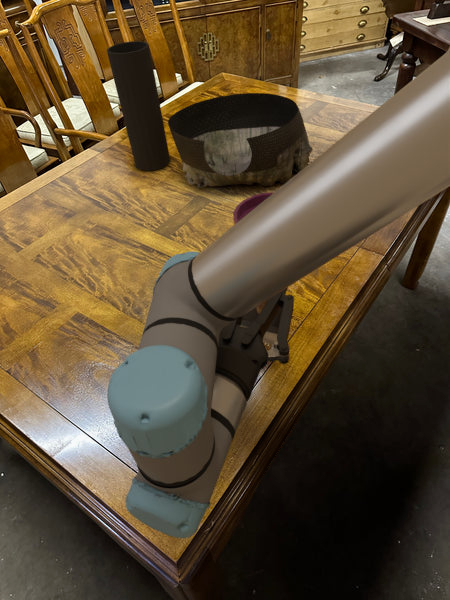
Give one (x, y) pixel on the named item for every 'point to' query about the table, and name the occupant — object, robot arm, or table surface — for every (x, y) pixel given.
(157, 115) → the vase
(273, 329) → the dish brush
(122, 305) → the table surface
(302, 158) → the basket
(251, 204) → the bowl
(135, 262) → the table surface
